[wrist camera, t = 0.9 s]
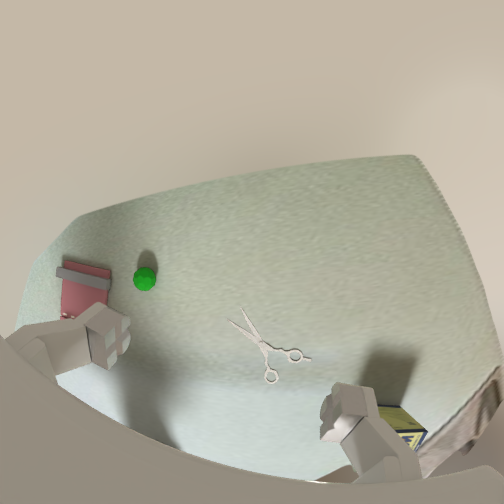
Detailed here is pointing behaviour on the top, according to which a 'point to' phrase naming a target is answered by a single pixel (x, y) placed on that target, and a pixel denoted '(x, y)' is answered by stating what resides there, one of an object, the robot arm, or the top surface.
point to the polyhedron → (144, 279)
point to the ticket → (82, 287)
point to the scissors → (266, 347)
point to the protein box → (403, 425)
